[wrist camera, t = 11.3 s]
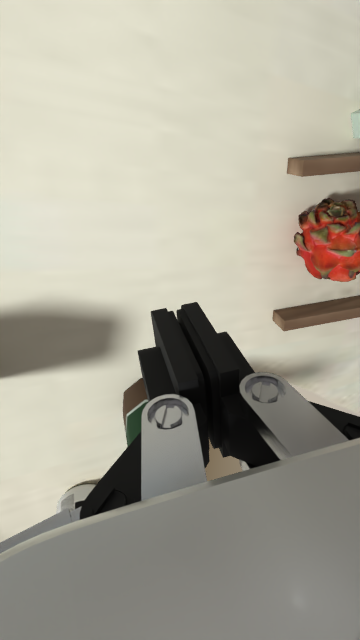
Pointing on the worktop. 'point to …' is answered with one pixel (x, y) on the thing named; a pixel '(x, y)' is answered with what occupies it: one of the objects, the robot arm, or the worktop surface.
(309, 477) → the robot arm
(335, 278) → the dragon fruit
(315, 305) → the bay
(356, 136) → the t block
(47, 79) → the worktop surface
